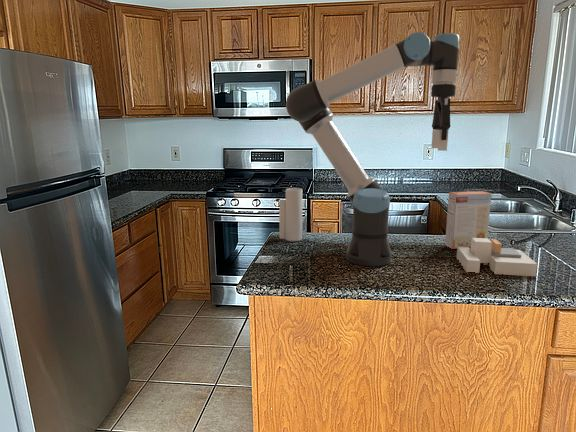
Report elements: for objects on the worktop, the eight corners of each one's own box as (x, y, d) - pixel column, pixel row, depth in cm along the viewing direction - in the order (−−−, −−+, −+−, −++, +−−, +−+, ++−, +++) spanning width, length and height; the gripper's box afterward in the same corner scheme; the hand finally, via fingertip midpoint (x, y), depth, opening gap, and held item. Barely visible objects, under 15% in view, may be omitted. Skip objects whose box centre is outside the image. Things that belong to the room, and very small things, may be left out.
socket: (466, 272, 135) (467, 260, 134) (456, 257, 150) (457, 246, 149) (535, 276, 132) (537, 263, 131) (518, 261, 146) (519, 249, 145)
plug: (473, 265, 141) (475, 241, 140) (469, 261, 146) (471, 237, 144) (489, 266, 140) (492, 242, 139) (485, 262, 145) (487, 238, 144)
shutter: (495, 256, 138) (496, 244, 137) (488, 249, 145) (490, 238, 145) (521, 257, 137) (522, 245, 136) (513, 250, 144) (514, 239, 143)
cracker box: (477, 244, 167) (482, 190, 162) (486, 248, 161) (492, 193, 156) (443, 245, 164) (448, 191, 160) (452, 250, 158) (457, 193, 154)
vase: (305, 239, 172) (306, 189, 168) (291, 242, 168) (291, 191, 163) (287, 233, 181) (287, 186, 176) (273, 236, 176) (273, 187, 172)
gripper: (464, 80, 130) (458, 151, 135) (448, 87, 154) (443, 147, 159) (438, 80, 131) (432, 151, 136) (426, 87, 156) (422, 147, 160)
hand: (438, 149), depth 147 cm, fingers open, 13 cm apart
